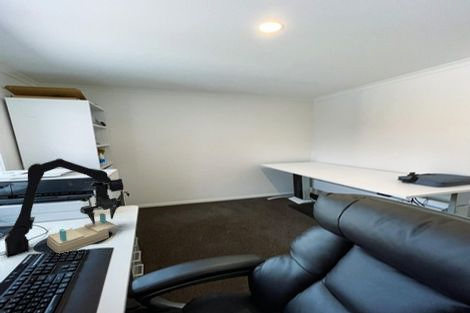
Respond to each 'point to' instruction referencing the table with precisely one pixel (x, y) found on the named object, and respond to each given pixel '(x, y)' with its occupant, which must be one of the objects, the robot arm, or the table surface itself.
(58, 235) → the flap near
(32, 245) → the table surface
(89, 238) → the carton
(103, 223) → the flap far
